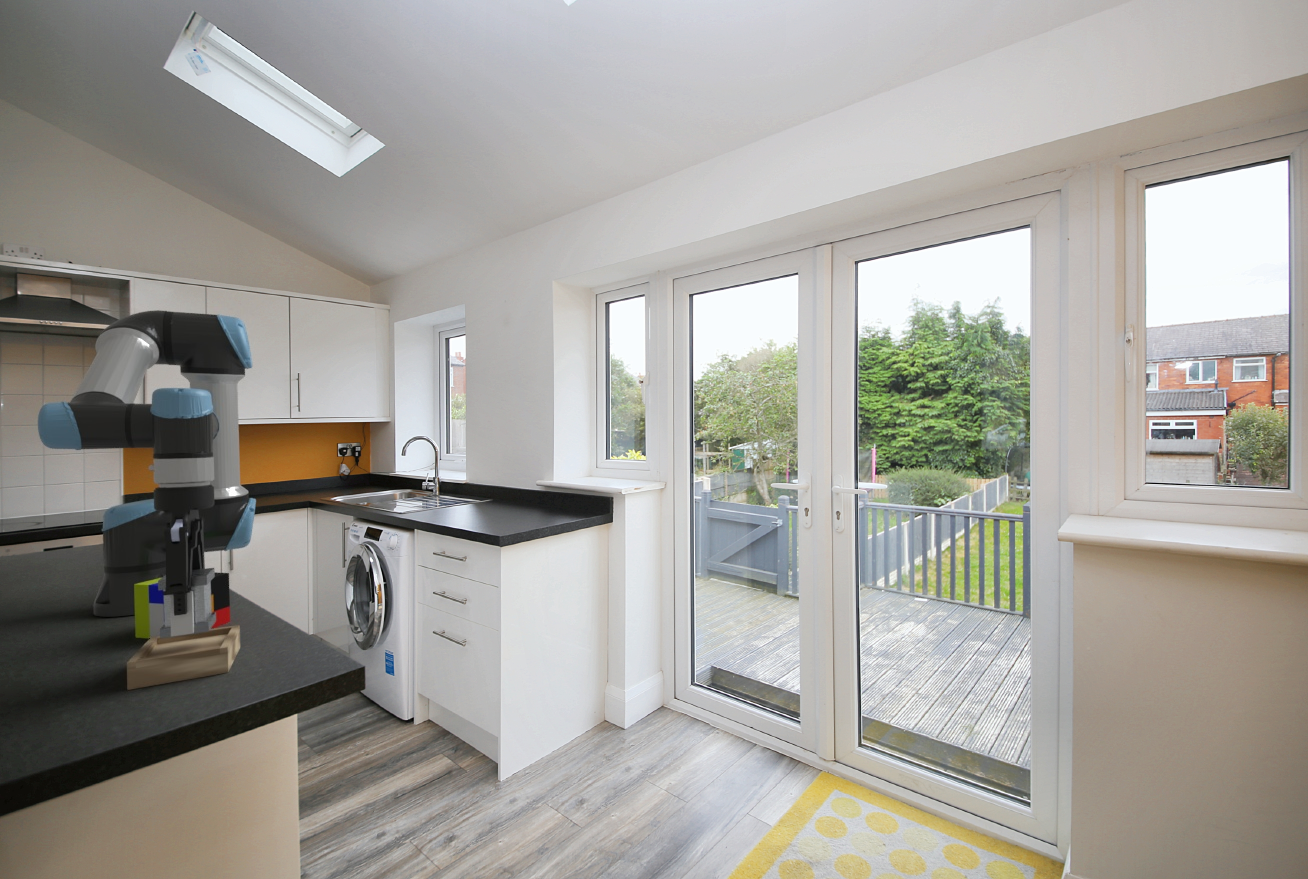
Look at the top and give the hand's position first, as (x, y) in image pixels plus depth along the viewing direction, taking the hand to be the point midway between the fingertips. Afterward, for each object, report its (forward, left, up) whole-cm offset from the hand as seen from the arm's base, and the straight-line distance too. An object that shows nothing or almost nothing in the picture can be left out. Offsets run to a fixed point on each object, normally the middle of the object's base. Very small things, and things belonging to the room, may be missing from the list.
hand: (187, 627), depth 92 cm
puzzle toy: (-23, -5, -7) cm, 25 cm away
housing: (0, 0, 0) cm, 0 cm away
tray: (0, 0, -6) cm, 6 cm away
